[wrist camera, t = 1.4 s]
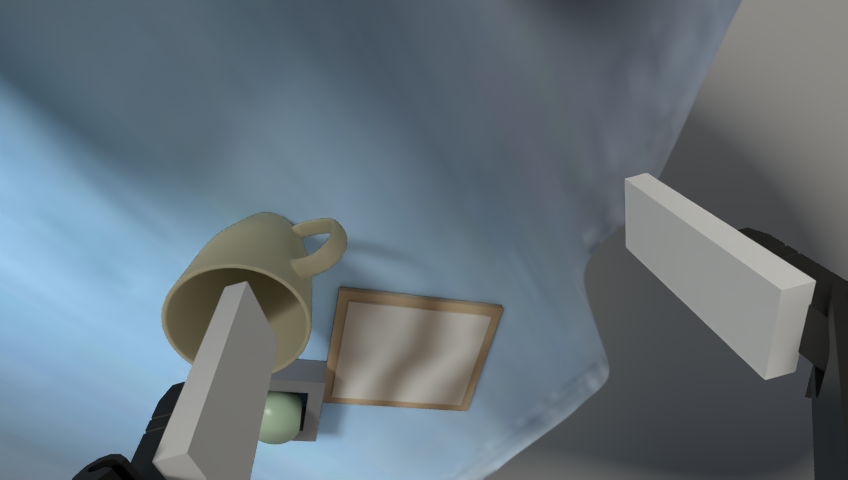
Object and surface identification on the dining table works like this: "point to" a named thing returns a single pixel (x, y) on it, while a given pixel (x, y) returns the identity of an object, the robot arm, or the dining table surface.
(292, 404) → the button
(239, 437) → the robot arm
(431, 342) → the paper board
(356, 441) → the dining table surface
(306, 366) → the button housing
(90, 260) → the dining table surface
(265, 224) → the mug
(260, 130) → the dining table surface
